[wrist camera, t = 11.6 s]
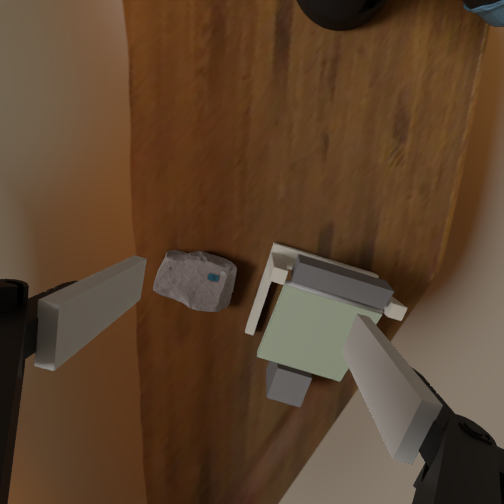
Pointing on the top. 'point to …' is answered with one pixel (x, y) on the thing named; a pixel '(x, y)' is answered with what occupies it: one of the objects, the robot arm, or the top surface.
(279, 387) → the basalt block
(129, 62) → the top surface
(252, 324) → the stand
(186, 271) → the stone
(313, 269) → the trapdoor
